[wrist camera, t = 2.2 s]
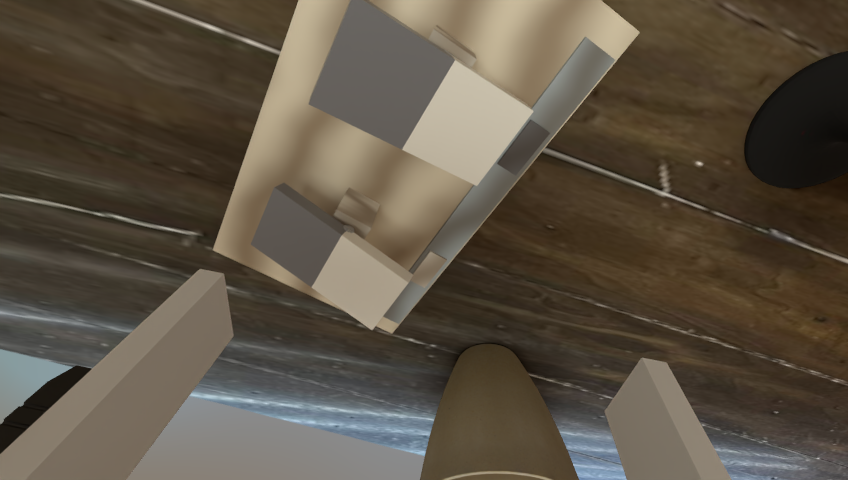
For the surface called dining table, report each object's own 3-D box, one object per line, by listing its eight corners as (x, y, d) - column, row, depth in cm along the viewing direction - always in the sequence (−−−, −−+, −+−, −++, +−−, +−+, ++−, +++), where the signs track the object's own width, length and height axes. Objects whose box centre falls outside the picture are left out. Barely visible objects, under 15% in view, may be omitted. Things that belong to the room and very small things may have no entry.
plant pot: (405, 340, 45) (384, 487, 31) (527, 305, 40) (564, 458, 27) (455, 410, 51) (455, 555, 38) (563, 386, 47) (607, 540, 34)
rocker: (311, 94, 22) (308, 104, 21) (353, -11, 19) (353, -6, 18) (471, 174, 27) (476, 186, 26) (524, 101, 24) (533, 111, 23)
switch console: (223, 239, 38) (188, 275, 33) (372, -179, 21) (347, -234, 16) (394, 320, 43) (386, 363, 38) (627, 30, 26) (669, 38, 21)
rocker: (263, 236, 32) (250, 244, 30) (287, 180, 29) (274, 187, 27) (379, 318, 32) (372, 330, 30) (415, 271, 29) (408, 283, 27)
